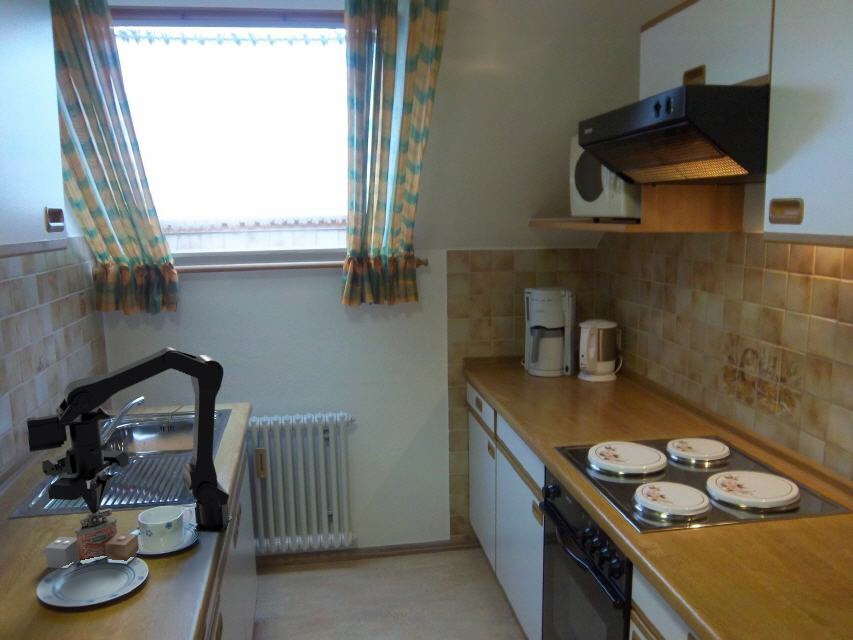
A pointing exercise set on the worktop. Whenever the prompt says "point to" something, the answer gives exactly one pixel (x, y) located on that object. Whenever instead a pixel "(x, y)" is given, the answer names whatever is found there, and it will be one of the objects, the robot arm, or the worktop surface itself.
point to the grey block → (62, 552)
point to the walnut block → (122, 546)
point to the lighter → (95, 534)
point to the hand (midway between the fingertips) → (94, 512)
